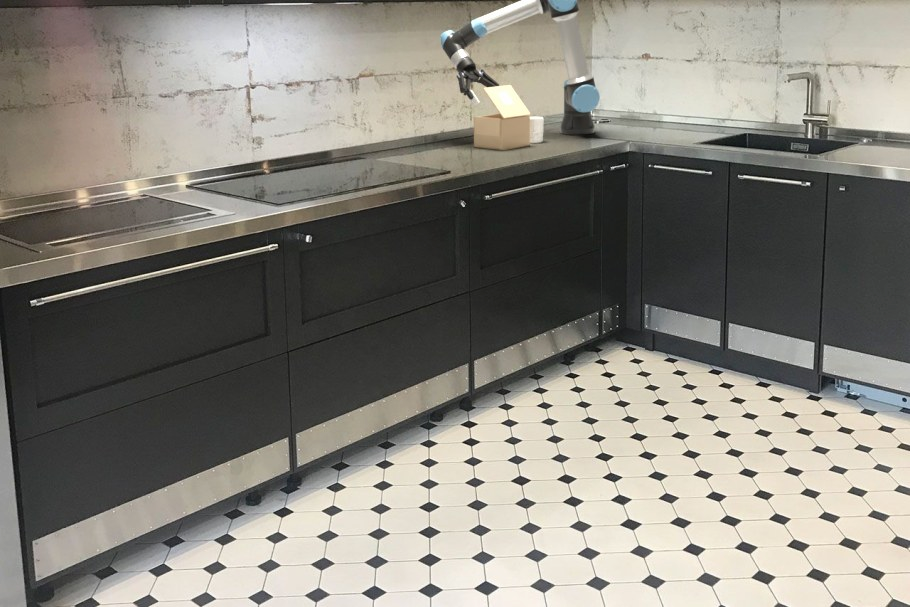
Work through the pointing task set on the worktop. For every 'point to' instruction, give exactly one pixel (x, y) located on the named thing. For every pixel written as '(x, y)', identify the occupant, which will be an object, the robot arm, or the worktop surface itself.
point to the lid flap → (506, 101)
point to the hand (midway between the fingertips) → (489, 103)
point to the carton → (501, 132)
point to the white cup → (536, 129)
